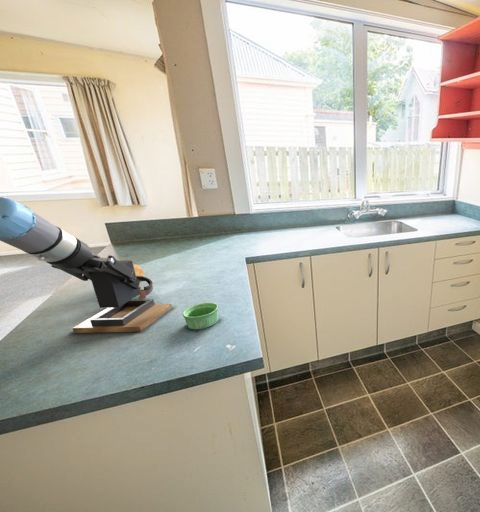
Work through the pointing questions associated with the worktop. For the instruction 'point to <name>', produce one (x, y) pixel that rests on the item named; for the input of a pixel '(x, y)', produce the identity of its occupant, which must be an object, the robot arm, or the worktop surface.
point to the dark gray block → (112, 288)
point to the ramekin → (201, 315)
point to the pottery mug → (147, 288)
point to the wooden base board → (124, 317)
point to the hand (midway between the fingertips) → (127, 285)
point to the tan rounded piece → (138, 270)
